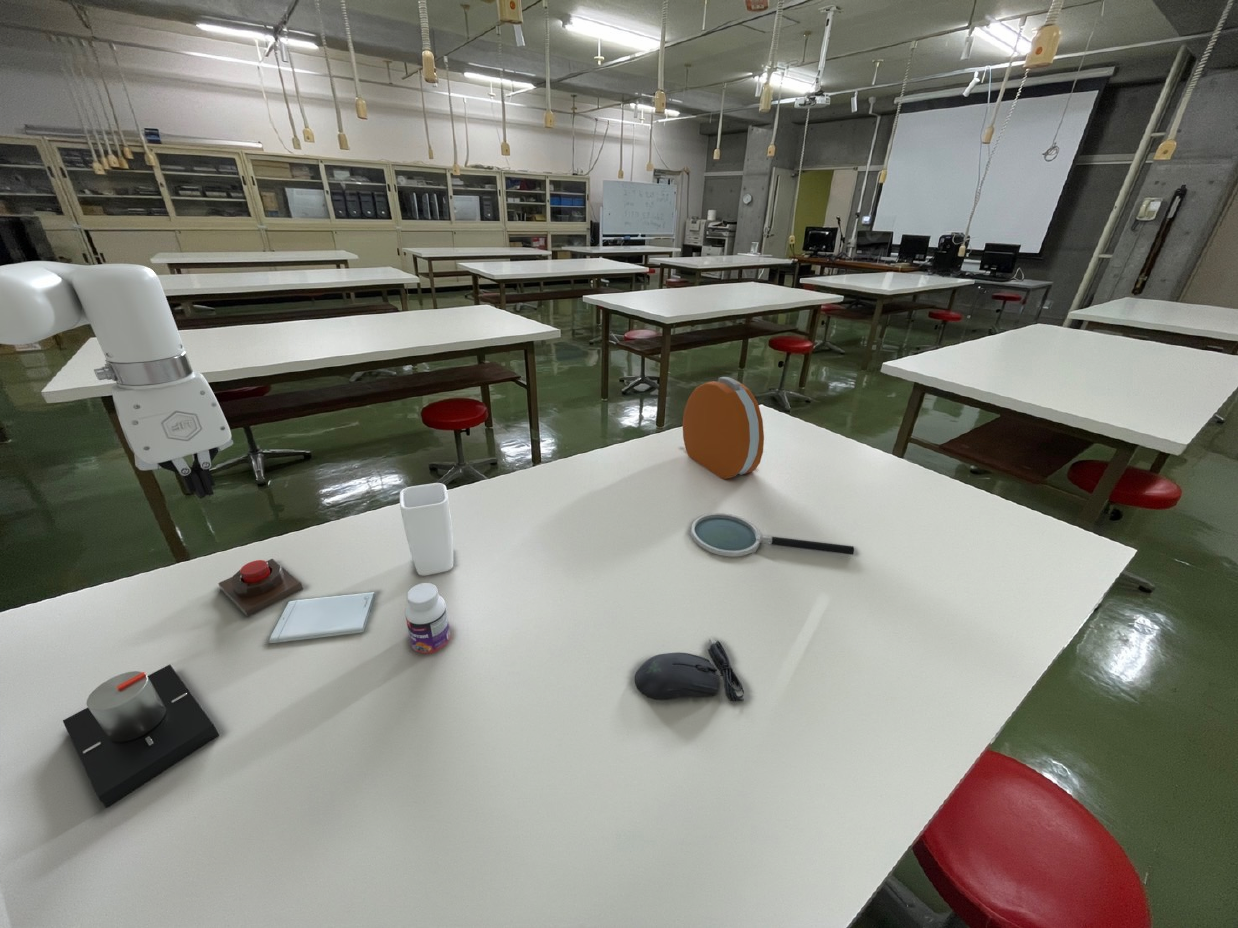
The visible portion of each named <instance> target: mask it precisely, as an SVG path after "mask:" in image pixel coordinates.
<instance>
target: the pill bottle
mask: <svg viewBox="0 0 1238 928" xmlns="http://www.w3.org/2000/svg"><path fill="white" fill-rule="evenodd" d="M406 599H407V604H406V606H405V609H404V616H405V621H406V626H407V631H408V636H409V640H410V645H411V647H412V649H413V650H414V651H415V652H417V653H420V654H430V653H434V652H437V651H439V650H441V649H442V648H444V647H445V646H446V645H447V644H448V642H449V641H450V640H451V639H450V638H451V631H450V624H449V617H448V612H447V605H446V601H445V600H444V598H443V597H442V596H441V595H440V594H439V591H438V587H437V586H436V585H435V584H433V583H430V582H422V583H418V584H416V585H414V586H413V587H411V588H410V589H409V590H408V592H407V593H406Z"/></svg>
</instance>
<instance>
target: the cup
mask: <svg viewBox="0 0 1238 928" xmlns="http://www.w3.org/2000/svg"><path fill="white" fill-rule="evenodd" d="M448 495H449V494H448V490H447V486H446V485H445V484H444V483H440V482H433V483H427V484H420V485H413V486H407V487H405V488H403V489H402V490H400V492H399V508H400V509H399V510H400V513H401V518H402V519H401V520H402V523H403V528H404V532H405V533H404V534H405V537H406V541H407V545H408V549H409V552H410V555H411V558H412V562H413V564H414V567H415V570H416V572H417V574H418V575H419V576H429V575H430V576H431V575H436V574H441V573H445V572H448V571H450V570H451V569H453V567H454V537H453V524H452V517H451V515H452V514H451V509H450V502H449V496H448Z"/></svg>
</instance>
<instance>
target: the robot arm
mask: <svg viewBox="0 0 1238 928" xmlns="http://www.w3.org/2000/svg"><path fill="white" fill-rule="evenodd" d="M167 299H168V298H167V296H166V293H165V291H164V289H163V285H162V283H161V281H160V278H159V276H158V274H157V273H156V272H154V270H153V269H152V268H150V267H147V266H146V265H141V264H133V263H132V264H131V263H102V264H101V263H99V264H90V265H86V264H76V263H66V262H59V261H58V262H57V261H50V260H49V261H48V260H31V261H22V262H18V263H10V264H9V263H8V264H4V265H0V344H1V345H8V346H9V345H10V346H11V345H12V346H13V345H17V346H18V345H19V346H21V345H30V344H34V343H37V342H40V341H44V340H45V339H48V338H51V337H53V336H55V335H57V334H59V333H62V332H67V331H69V330H72V329H75V328H78V327H82V326H84V325H90V326H91V329H92V332H93V333H94V335H95V338H96V340H97V342H98V344H99V346H100V349H101V351H102V353H103V355H104V357H105V359H104V361H105V363H104V366H101V367H100V368H94V369H93V372H94V374H95V377H96V378H97V380H98V381H103V380H104V381H105V380H108V381H109V380H110V381H111V380H112V381H113V382H115V383H113V384H112V385H111V394H112V400H113V404H114V408H115V412H116V415H117V418H118V421H119V423H120V427H121V429H122V432H123V435H124V437H125V441H126V442H127V445H128V447H129V448H130V451H132V453H133V455H134V464H135V467H136V468H137V469H138V470H139V471H153V470H159V469H164V470H168V471H170V472H174V473H177V474H179V475H180V478H181V480H182V483H183V485H184V488H185V490H186V492H187V493H188V494H189V495H190V494H194V495H195V496H197V497H198V498H199V499H200V500H201V499H204V498H206V497H207V496H209V497H210V496H213V495H214V494H215V493H214V490H213V487H214V486H216V483H215V481H214V478H213V475H212V473H211V469H210V468H211V467H212V462H213V461H214V459H215V458H216V456H217V455H218V453H219V452H222V451H224V450H226V449H228V448H229V447H232V446H233V445H234V440H233V439H232V431H231V428H230V426H229V423H228V421H227V419H226V417H225V414H224V412H223V410H222V407H221V406H220V403H219V401H218V399H217V397H216V396H215V393H214V391H213V390H212V388H211V386H210V384H209V382H208V381H207V379H206V378H205V376H204V375H203V374H202V373H201V372H198V371H195V370H194V369H193V367H192V365H191V362H190V360H189V357H188V354H187V353H188V352H187V351H186V349H185V345H184V343H183V339H182V338H181V335H180V332H179V330H178V326H177V324H176V320H175V319H174V316H173V314H172V310H171V307H170V305H169V301H168V300H167ZM191 455H192V461H193V462H192V464H191V466H190V465H189V464H187V462H186V460H185V458H184V457H188V456H191Z"/></svg>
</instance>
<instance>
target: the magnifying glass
mask: <svg viewBox="0 0 1238 928" xmlns="http://www.w3.org/2000/svg"><path fill="white" fill-rule="evenodd" d="M690 529H691V530H690V534H691V537H692V540H693V541H694V542H695V543H696V545H698V546H699V547H700V548H702V549H704V550H705V551H707V552H710V553H711V554H715V555H718V556H723V557H733V558H734V557H742V556H747V555H749V554H755V553H756V552H757V551H758V549H759V548H760V544H767V545H772V546H780V547H788V548H796V549H803V550H804V549H805V550H813V551H821V552H827V553H837V554H844V555H845V554H846V555H851V556H852V555H854V553H855V547H854V545H853V546H852V545H844V544H837V543H827V542H819V541H812V540H811V541H810V540H803V539H796V538H787V537H780V536H779V537H778V536H766V535H765V536H764V535H761V532H760V530H759V529H758V528H757V527H756V526H755V525H754V524H753V523H751V521H749V520H747V519H745V518H743V517H741V516H738V515H734V514H730V513H725V512H724V513H723V512H712V513H706V514H702V515H701V516H699V517H697V518H696V519H695V520H693V522H692V524H691V528H690Z"/></svg>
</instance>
